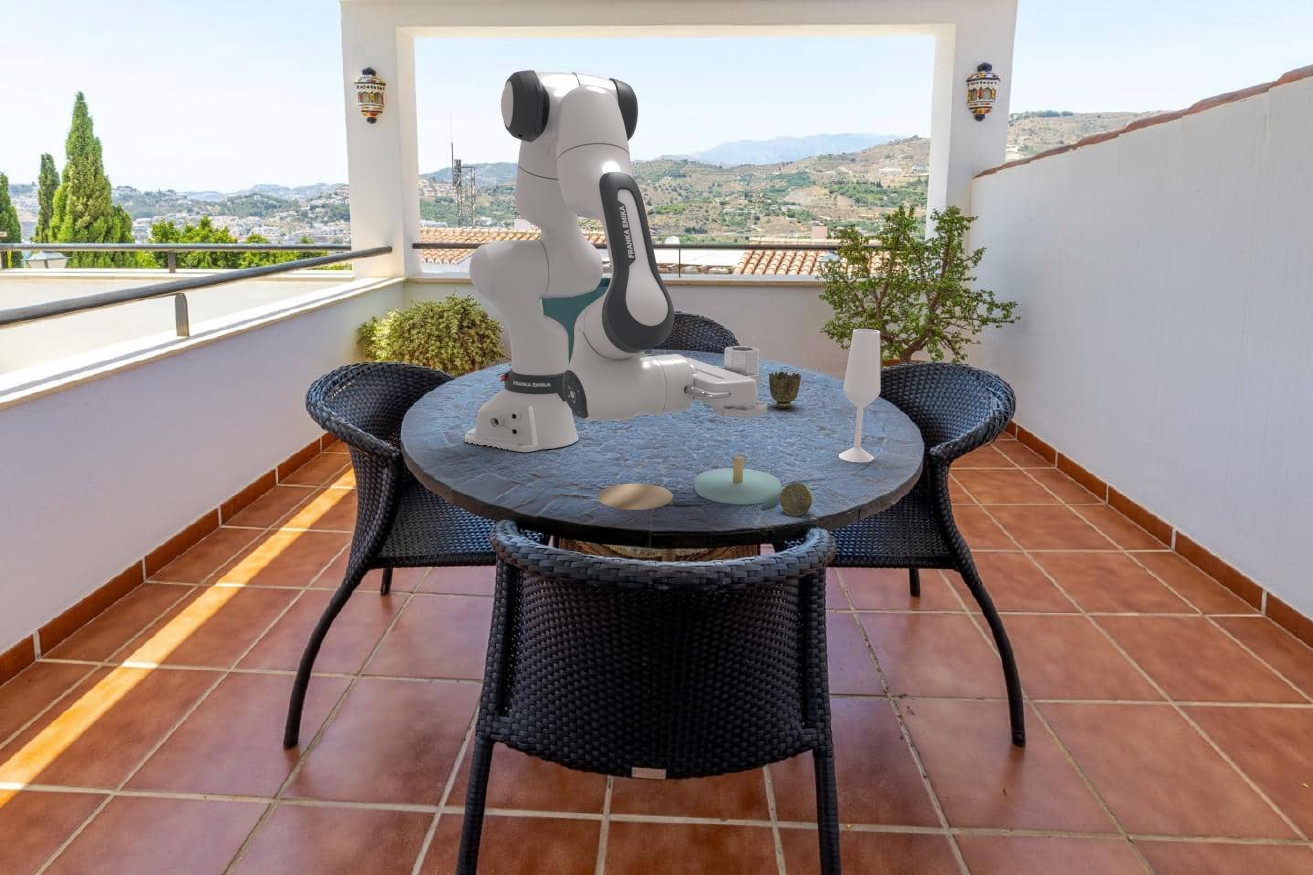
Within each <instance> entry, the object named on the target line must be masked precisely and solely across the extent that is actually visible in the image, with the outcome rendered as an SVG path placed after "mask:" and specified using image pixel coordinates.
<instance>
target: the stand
mask: <svg viewBox="0 0 1313 875" xmlns="http://www.w3.org/2000/svg"><path fill="white" fill-rule="evenodd" d="M673 499H674V495H673V493H672V492H671V491H670V490H668V489H666V488H664V487H662V486H658V485H655V484H648V483H622V484H621V483H620V484H616V485H612V486H609V487H605V488H603V489H601V491H599V492H598V493H597V500H598V501H599V503H601V504H603V505H605V506H608V507H611V508H615V509H620V510H621V509H622V510H629V511H630V510H631V511H632V510H633V511H640V510H641V511H642V510H651V509H656V508H660V507H663V506H666V505H668V504H669V503H671V502H672V501H673Z"/></svg>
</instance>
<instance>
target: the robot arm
mask: <svg viewBox="0 0 1313 875" xmlns="http://www.w3.org/2000/svg"><path fill="white" fill-rule="evenodd" d="M500 112H501V115H502V120H503V124H504V127H505V129H506V131H507V132H508V133H509V134H510V135H511V136H512V137H513V138H515V139H517V140H520V141H521V142H520V146H519V152H518V159H517V172H516V182H515V191H514V205H515V209H516V211H517V212H518V214H519V215H520V216H521V218H523V220H525V221H527V222H528V223H530V225H533V226H534V227H536V228H539V229H540V236H539V238H538V239H511V240H510V239H508V240H507V239H506V240H505V239H504V240H503V239H502V240H498V241H493V242H489V243H485V244H481V245H479V246H478V247H477V248H476V249H475V251H474V252H473V254H472V256H471V258H470V260H469V261H470V262H469V263H470V264H469V276H470V280H471V283H472V286H473V287H474V289H475V291H477V292H478V294H479V295H481V296H482V297H483V298H484V299H486V300H487V301H488V302H490V303H491V304H492V305H493V306H494V307H495V308H496V309H497V311H498V312H499V314H500V315H501V317H502V318H503V320H504V323H505V325H506V328H507V331H508V336H509V344H510V354H511V355H510V356H511V368H510V369H509V370H508V371H506V372H504V374H503V375H500V378H501V379H500V380H499V381H500V382H504V386H503V388H502V390H500V391H499V392H497V393H496V394H495V395H494V396H493V397H491V398H490V399H489V400H488V401H486V402H485V403H483V405H481V406H480V408H479V410H478V412H477V414H476V415H477V416H476V419H475V427H473V428H472V429H469V430H468V431H467V432H466V433H465V434H464V442H465V443H466V442H468V443H467V444H471V443H473V444H472V445H477V444H478V445H479V446H483V445H487V446H486V447H489V446H492V447H491V448H495V447H497V449H501V448H502V450H507V449H508V450H507V451H514V452H521V453H531V452H535V451H536V452H537V451H540V450H547V449H556V448H562V447H567V446H570V445H572V444H574V443H577V441H578V440H579V439H580V438H579V434H578V432H577V428H576V425H575V419H574V414H575V415H576V416H577V417H578V418H581V419H583V420H587V421H593V422H594V421H595V422H609V421H610V422H611V421H622V420H628V419H633V418H635V417H638V416H641V415H646V416H652V417H653V416H662V415H671V414H678V413H684V412H686V411H688V409H689V408H690V407H691V405H692V403H693V402H695V401H698V402H701V403H703V404H704V405H705V404H706V405H708V406H732V405H745V404H751V403H753V402H754V401H755V398H756V387H758V388H759V387H761V385H762V377H761V375H756V374H748V375H746V376H743V375H740V374H737V373H734V372H731V371H728V370H725V369H724V366H716V365H712V364H709V363H706V362H703V361H700V360H696V359H694V358H690V357H686V356H683V355H682V354H679V353H672V354H656V353H651V354H645V353H644V351H646V350H649V349H652V350H653V349H655V348H657V347H659V346H661V345H662V344H663V343H664V342H665V341H666V340H667V339H668V338H669V336H670V334H671V332H672V330H673V328H674V322H675V308H674V303H673V300H672V297H671V296H670V294H669V290H668V289H667V288H666V284H665V283H664V281H663V279H662V277H661V274H660V271H659V269H658V268H659V267H658V263H657V260H656V254H655V249H654V244H653V239H652V236H651V235H652V234H651V230H650V225H649V221H648V215H647V211H646V206H645V203H644V199H643V196H642V192H641V190H640V188H639V185H638V183H637V182H636V180H635V179H634V175H633V170H632V162H631V161H632V160H631V154H630V146H629V141H630V140H631V139H632V138H633V136H634V134H635V132H636V129H637V125H638V117H639V104H638V98H637V95H636V93H635V91H634V89H633V87H632V86H631V85H630V84H628V83H626V82H624V81H623V80H619V79H616V78H612V77H609V78H605V77H600V76H596V75H592V74H587V73H583V72H582V73H581V72H574V71H573V72H571V73H570V72H558V71H556V72H555V71H541V72H539V71H537V72H536V71H535V70H534V69H528V70H521V71H515V72H513V73H512V74H511V75H510V76H509V77H508V78H507V80H506V81H505V85H504V88H503V91H502V94H501V98H500ZM578 216H580V217H582V218H585V219H589V220H597V221H598V220H599V222H600V223H601V225H602V228H603V233H604V238H605V242H606V248H607V253H608V260H609V265H610V270H611V275H610V278H611V281H610V284H609V287H608V289H607V291H606V292H605V294H604V295H602V296H601V297H600V298H598V299H596V300H595V301H594V302H592V303H591V304H590V305H588V306H587V307H586V308H585V309H584V310H583V311H582V312H581V313H580V314H579V315H578V317H577V318H576V321H575V324H574V330H573V334H574V347H573V353H572V357H571V360H570V363H569V340H568V333H567V331H566V329H565V327H564V326H563V325H562V324H561V323H559V322H558V321H556V320H554V319H552V318H550V317H548V316H546V315H544V314H543V310H541V305H540V300H542V299H545V298H565V297H575V296H579V295H583V294H586V293H590V292H593V291H594V290H595V289H596V288H597V287H598V285H599V283H600V281H601V279H602V278H603V276H604V275H603V274H604V264H603V259H602V256H601V253H600V252H599V251H598V249H597V248H596V246H595V245H594V244H592V243H591V242H590V241H589V239H587V238H586V236H585V235H584V234H583V231H582V230H581V226H580V223H579V217H578ZM573 413H574V414H573Z"/></svg>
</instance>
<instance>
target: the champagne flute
mask: <svg viewBox="0 0 1313 875" xmlns="http://www.w3.org/2000/svg"><path fill="white" fill-rule="evenodd" d="M852 331H853V332H852V336H851V342H850V346H849V347H850V348H849V354H848V358H847V365H846V370H845V377H844V382H843V387H842V390H843V393H844V394H845V396H846V398H847V400H849V402H850V403H851V404H852V405H853V406H855V407H856V418H855V431H854V441H853V444H854V445H853V447H852V448H849V449H847V450H846V451H845V450H844V451H843V452H841V453H839V454H838V455H839V456H838V458H839V459H841V460H843V461H847V462H851V463H869V462H873V461H874V460H875V456H873V455H872V454H871V453H869V452H867V451H866V450H864V449H863V448H862V447H861V441H862V432H863V418H864V408H866V407H869V405H871V404H872V403H873V402H874V401H875V400H876V399H877V398H878V396H880V394H881V331H880V330H877V329H868V328H857V329H853V330H852ZM873 459H874V460H873ZM872 460H873V461H872Z"/></svg>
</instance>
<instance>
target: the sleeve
mask: <svg viewBox="0 0 1313 875" xmlns="http://www.w3.org/2000/svg"><path fill="white" fill-rule="evenodd" d="M760 354H761V348H758V347H755V346H747V345H746V346H744V345H734V346H733V345H732V346H726V347H725V348H724V354H723V355H724V357H723V358H724V360H723V362H724V363H723V367H724V369H725V370H728V371H731V372H734V373H737V374H740V375H743V376H746V375H748V374H756V375H759V374H760V358H761V357H760ZM759 376H760V375H759ZM758 394H759V387H756V398H755V401H754V402H753V403H751V404H745V405H732V406H712V405H711V406H712V408H711V409H712V410H711V412H712V413H715V414H716V415H719V416H722V417H725V418H726V417H727V418H738V419H750V418H751V419H752V418H757V417H764V416H765V415H766V413H767V411H768V403H767V402H764V401H761V400H759V396H758Z"/></svg>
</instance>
